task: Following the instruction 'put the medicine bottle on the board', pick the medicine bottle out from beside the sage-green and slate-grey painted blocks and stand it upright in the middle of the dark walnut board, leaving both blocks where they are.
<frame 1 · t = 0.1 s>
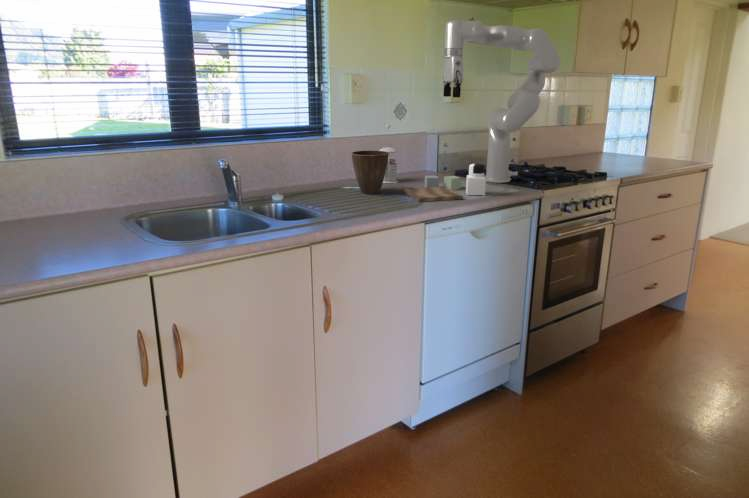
hand: (451, 96, 221), 37 cm above the countertop, tool pointing down, fingers open, 9 cm apart
medicine bottle: (475, 194, 211), on the countertop
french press: (387, 182, 234), on the countertop
plant pot: (370, 192, 214), on the countertop
sage block: (451, 189, 220), on the countertop
slate block: (431, 188, 221), on the countertop
walnut board: (432, 195, 207), on the countertop
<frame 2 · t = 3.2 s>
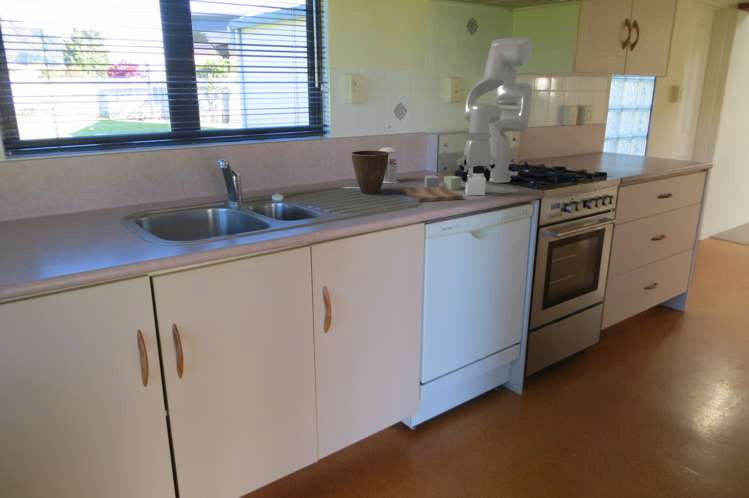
hand: (475, 181, 208), 5 cm above the countertop, tool pointing down, fingers open, 9 cm apart
nothing on the countertop moved.
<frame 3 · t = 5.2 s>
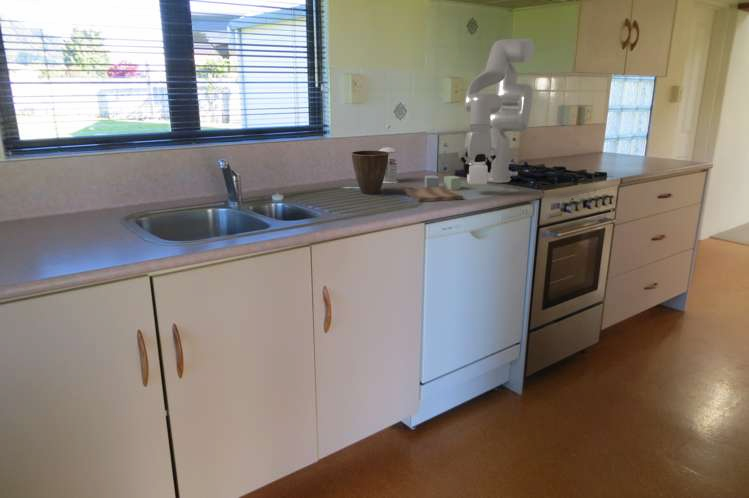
hand: (477, 172, 209), 8 cm above the countertop, tool pointing down, fingers closed on medicine bottle, 8 cm apart
medicine bottle: (476, 182, 210), point 4 cm above the countertop, touching gripper
everything else where it was.
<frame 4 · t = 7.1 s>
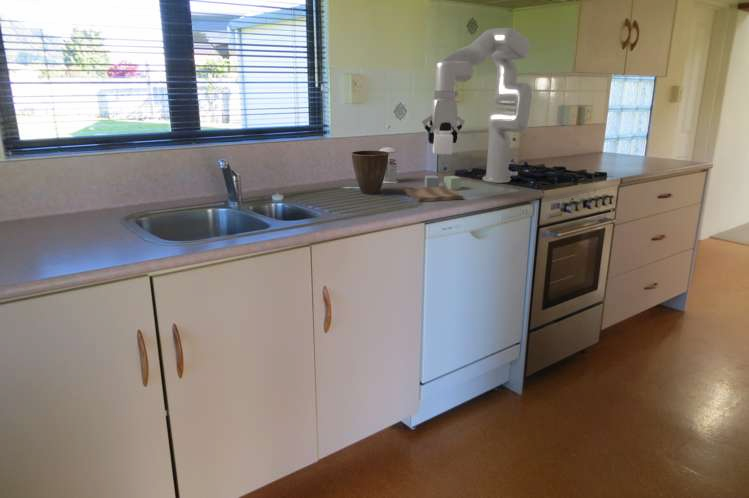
hand: (442, 142, 201), 21 cm above the countertop, tool pointing down, fingers closed on medicine bottle, 8 cm apart
medicine bottle: (442, 153, 203), point 16 cm above the countertop, touching gripper
everything else where it was.
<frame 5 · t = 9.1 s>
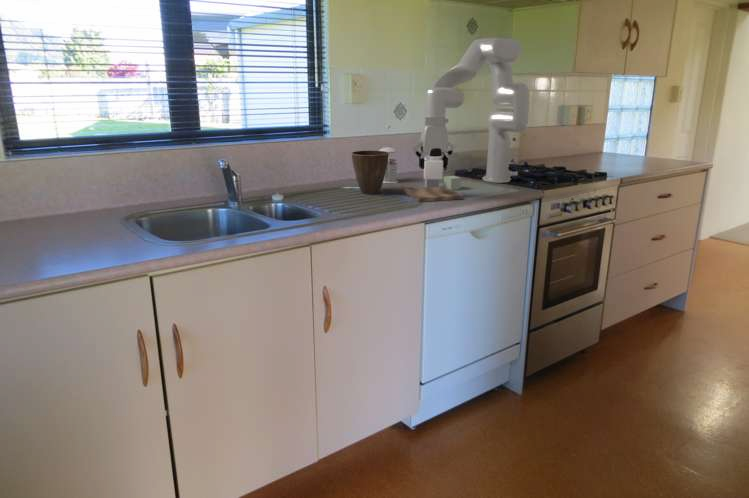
hand: (433, 167, 203), 11 cm above the countertop, tool pointing down, fingers closed on medicine bottle, 8 cm apart
medicine bottle: (432, 178, 205), point 7 cm above the countertop, touching gripper
everything else where it was.
when the fingers open (6 cm above the countertop, at t = 10.8 s): medicine bottle stays where it is, resting on walnut board.
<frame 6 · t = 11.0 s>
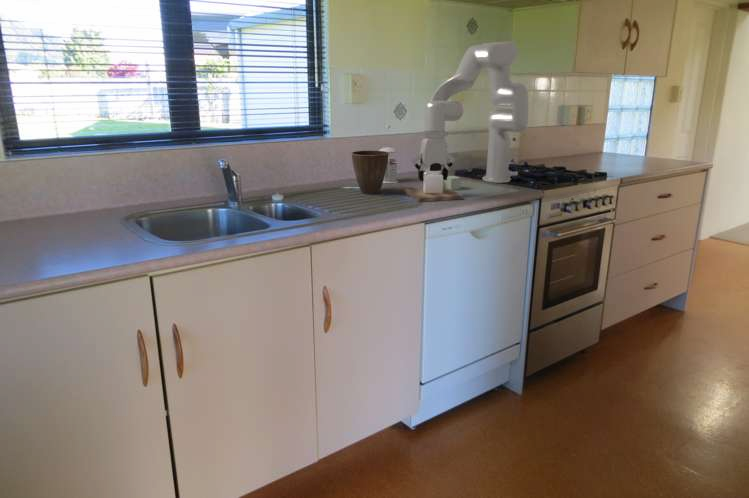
hand: (432, 180, 205), 6 cm above the countertop, tool pointing down, fingers open, 9 cm apart
medicine bottle: (432, 192, 207), point 1 cm above the countertop, touching walnut board
everything else where it was.
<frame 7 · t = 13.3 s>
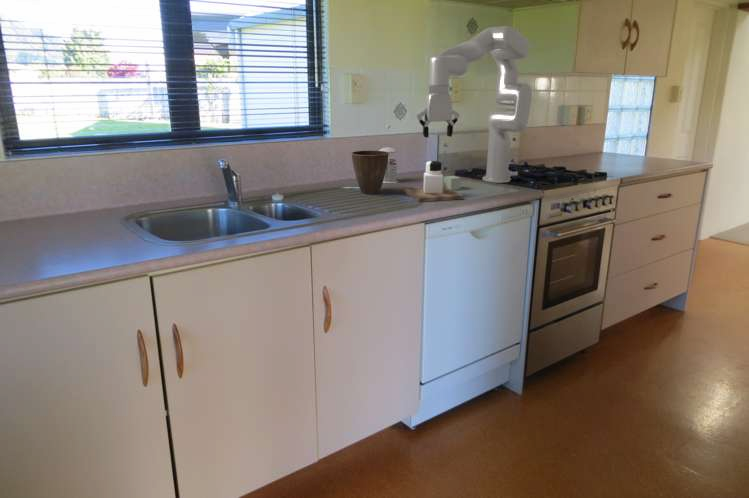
hand: (437, 136, 203), 23 cm above the countertop, tool pointing down, fingers open, 9 cm apart
nothing on the countertop moved.
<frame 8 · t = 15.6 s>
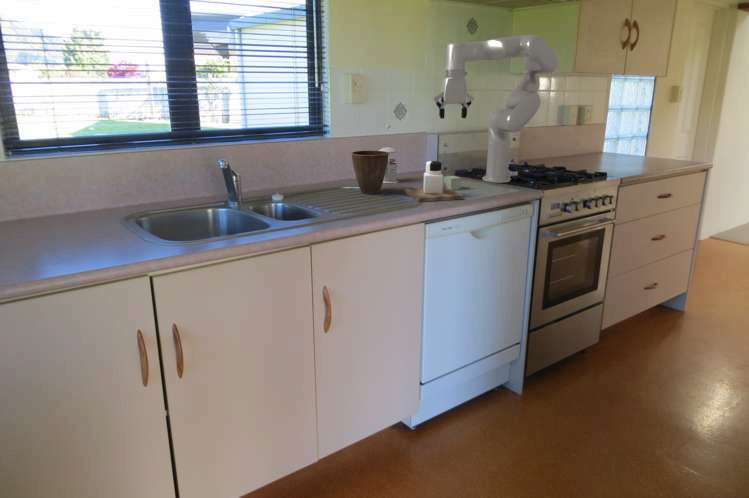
hand: (452, 118, 218), 28 cm above the countertop, tool pointing down, fingers open, 9 cm apart
nothing on the countertop moved.
at the end: medicine bottle inside the target area on the walnut board (0.3 cm from its centre), point 1.3 cm above the walnut board's base; sage block moved 0.1 cm from its start; slate block moved 0.1 cm from its start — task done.
